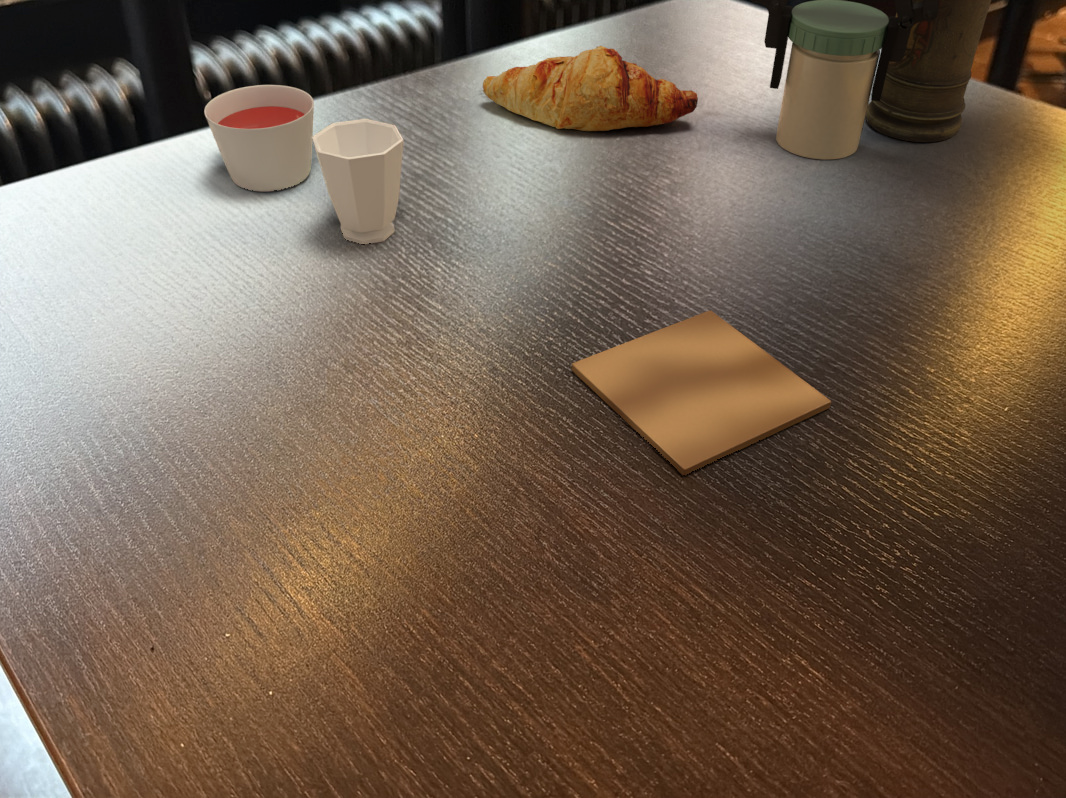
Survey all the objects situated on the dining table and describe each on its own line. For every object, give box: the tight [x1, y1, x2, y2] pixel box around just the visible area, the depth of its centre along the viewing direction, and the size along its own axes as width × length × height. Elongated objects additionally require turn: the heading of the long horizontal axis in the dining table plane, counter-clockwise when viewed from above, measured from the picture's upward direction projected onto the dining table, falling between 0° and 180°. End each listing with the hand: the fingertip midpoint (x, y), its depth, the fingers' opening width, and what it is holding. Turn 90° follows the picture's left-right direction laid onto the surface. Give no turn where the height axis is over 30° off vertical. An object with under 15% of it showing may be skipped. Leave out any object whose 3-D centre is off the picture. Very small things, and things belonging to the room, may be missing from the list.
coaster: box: [570, 309, 832, 476], centre depth 65 cm, size 12×12×1 cm
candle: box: [203, 84, 315, 192], centre depth 86 cm, size 9×9×6 cm
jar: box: [775, 41, 881, 161], centre depth 91 cm, size 8×8×11 cm
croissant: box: [482, 45, 699, 132], centre depth 96 cm, size 21×10×8 cm, turn 78°
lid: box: [788, 0, 889, 56], centre depth 87 cm, size 8×8×2 cm
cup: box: [312, 118, 404, 245], centre depth 79 cm, size 7×10×8 cm
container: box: [865, 0, 992, 143], centre depth 92 cm, size 9×9×18 cm
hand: (825, 88), depth 91 cm, fingers closed on lid, 8 cm apart
